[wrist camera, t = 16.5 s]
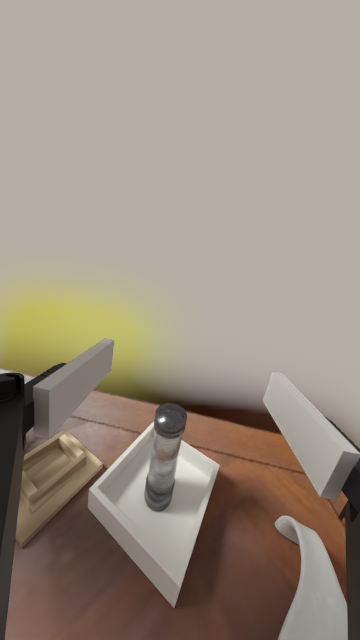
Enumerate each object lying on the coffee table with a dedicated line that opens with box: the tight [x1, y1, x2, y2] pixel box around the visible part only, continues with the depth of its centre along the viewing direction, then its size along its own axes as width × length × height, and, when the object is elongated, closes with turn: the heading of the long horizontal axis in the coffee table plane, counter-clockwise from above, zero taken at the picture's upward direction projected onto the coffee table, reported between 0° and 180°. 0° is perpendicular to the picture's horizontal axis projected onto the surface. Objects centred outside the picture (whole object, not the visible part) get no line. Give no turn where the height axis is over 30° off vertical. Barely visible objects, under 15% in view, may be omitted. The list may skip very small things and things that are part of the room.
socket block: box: [15, 430, 103, 549], centre depth 30 cm, size 12×12×4 cm
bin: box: [88, 422, 220, 608], centre depth 30 cm, size 16×16×4 cm
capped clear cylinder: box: [144, 403, 187, 512], centre depth 28 cm, size 5×5×16 cm
